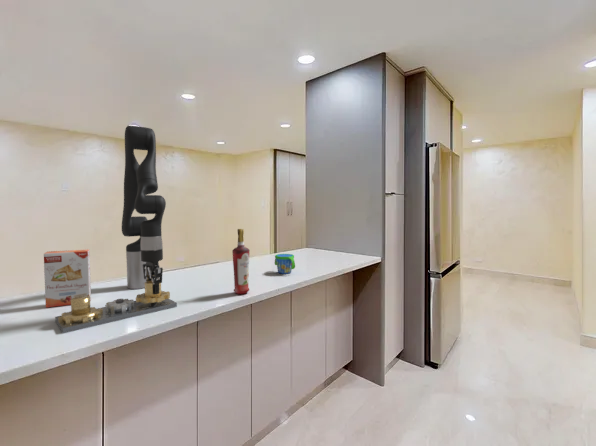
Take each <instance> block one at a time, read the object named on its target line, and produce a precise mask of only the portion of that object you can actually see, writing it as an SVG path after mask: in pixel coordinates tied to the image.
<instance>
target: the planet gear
mask: <svg viewBox="0 0 596 446" xmlns="http://www.w3.org/2000/svg"><path fill="white" fill-rule="evenodd" d="M152 285H153V284H152V280H151V281H147V282H145V288H144V292H143V293H141V294H140V293H138V294H137V295H136V297H135V301H136V302H141V303H144V304H148V303H153V302H161V301H163V300H165V299H171V292H170V291H165V290H164V291H163V290H162V283H160V284H159V294H155V295H154V294H153V288H152Z"/></svg>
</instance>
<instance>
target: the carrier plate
mask: <svg viewBox="0 0 596 446" xmlns="http://www.w3.org/2000/svg"><path fill="white" fill-rule="evenodd" d="M177 306H178V303H177V301H175V300H173V299H171V298H169V299H165V300H163V301H161V302H153V303H148V304H144V303H141V302H136V300H134V299H129V298H118V299H115V300H113V301H108V302H106V303H105V305H104V306H102V307H97V308H96V307H95V306H91V300H90V296H79V297H75V298H72V299H71V305H70V309H71V310H70V311H67V312H62V313H61V315H59V316H54V318H55V323H56V324H57V327H58V328H59V329H60V332H61V333H62V334H65V333H66V334H67V333H70V332H74V331H79V330H82V329H87V328H92V327H96V326H100V325H104V324H108V323H113V322H117V321H121V320H126V319H130V318H133V317H138V316H143V315H147V314H152V313H155V312H160V311H164V310H170V309H173V308H177Z"/></svg>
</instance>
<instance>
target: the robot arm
mask: <svg viewBox="0 0 596 446" xmlns="http://www.w3.org/2000/svg"><path fill="white" fill-rule="evenodd" d="M156 142H157V141H156V132H155V131H154V129H153V128H151V127H144V126H137V125H127V126H126V128H125V129H124V178H123V207H122V209H123V210H122V218H121V234H122V235H123V236H124V237H127V238H128V237H139V238H138V239H137V240H136V241H134V242H131V243H128V244H127V245H126V246H125V253H126V255H125V256H126V257H125V258H126V285H127V286H126V288H127V289H130V290H137V289H138V290H139V289H145V282H147V281H151V280H152V284H153V285H152V288H153V294H154V295H155V294H159V284H160V283H161V284H162V283H163V270H164V269H163V267H160V264H159V263H160V261H163V259H164V251H163V249H164V247H163V246H164V245H163V238H162V237H163V236H162V222H163V216H164V212H165V209H166V207H167V206H166V204H167V203H166V199H165V198H164V196H162V195H161V194H159V195H158V194H157V195H156V194H155V193H156V192H157V191H158V190H159V184H158V177H157V168H156V167H157V161H156V160H157V146H156V145H157V143H156ZM134 150H139V151H147V153H146V155H145V157H144V159H143V160H142V161H141V163H140V164H139V162H138V160H137V158H136V156H135V152H134ZM134 211H135V212H137V213H138V214H140V215H154V216H153V217H152V218H150V219H148V218H147V217H146V216H133V213H134Z"/></svg>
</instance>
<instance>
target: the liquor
mask: <svg viewBox="0 0 596 446" xmlns="http://www.w3.org/2000/svg"><path fill="white" fill-rule="evenodd" d="M244 234H245V230H244V228H237V246H236V247H234V248H233V249H232V267H233V281H234V283H233V284H234V289H233V292H234V293H235V294H236V295H246V294H247V293H248V292H249V291H250V287H249V281H250V280H249V270H250V249H249V248H248V247H246V246H245V241H244V239H245V238H244V236H245V235H244Z"/></svg>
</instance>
